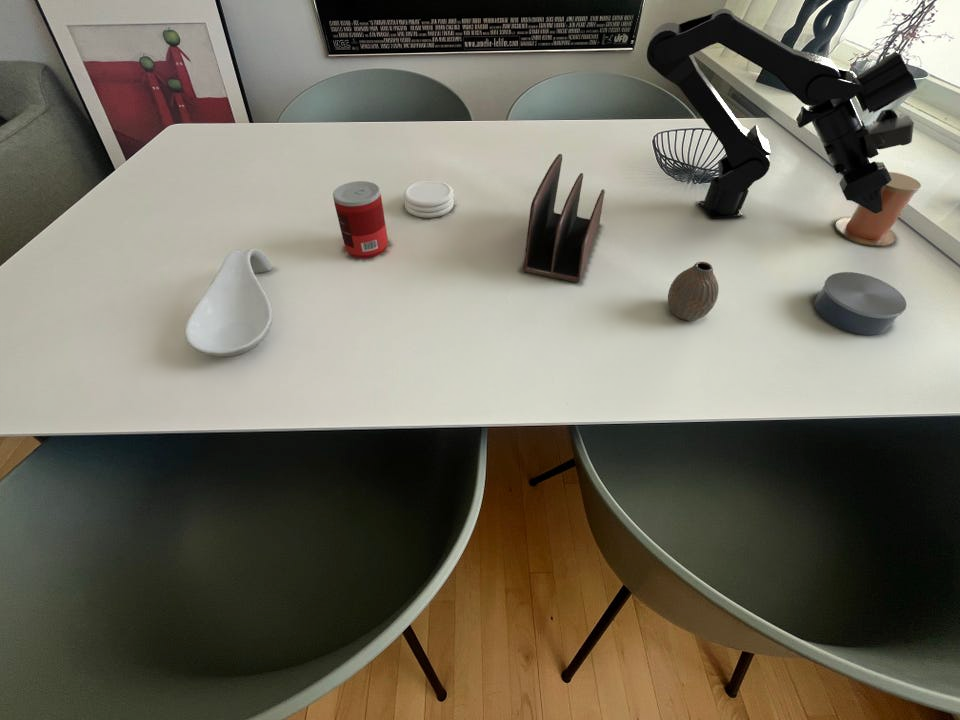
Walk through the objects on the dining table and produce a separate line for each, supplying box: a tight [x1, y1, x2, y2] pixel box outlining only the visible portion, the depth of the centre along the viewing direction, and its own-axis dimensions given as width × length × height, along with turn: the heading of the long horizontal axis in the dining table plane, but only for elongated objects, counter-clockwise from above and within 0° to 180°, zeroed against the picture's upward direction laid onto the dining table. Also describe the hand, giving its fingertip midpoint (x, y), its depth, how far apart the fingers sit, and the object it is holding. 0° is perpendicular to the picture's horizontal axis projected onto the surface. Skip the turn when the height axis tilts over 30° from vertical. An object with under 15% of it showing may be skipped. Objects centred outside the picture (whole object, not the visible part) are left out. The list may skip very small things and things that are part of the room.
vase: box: [667, 261, 720, 321], centre depth 73 cm, size 7×7×9 cm
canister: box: [846, 171, 922, 240], centre depth 89 cm, size 7×7×10 cm
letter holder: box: [522, 153, 606, 283], centre depth 83 cm, size 10×20×14 cm, turn 160°
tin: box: [813, 271, 907, 336], centre depth 74 cm, size 11×11×4 cm
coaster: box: [403, 179, 455, 219], centre depth 98 cm, size 10×10×4 cm
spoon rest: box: [184, 248, 273, 357], centre depth 73 cm, size 24×12×7 cm, turn 9°
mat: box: [834, 216, 896, 248], centre depth 92 cm, size 10×10×1 cm
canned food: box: [332, 180, 389, 260], centre depth 84 cm, size 8×8×11 cm
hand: (872, 200), depth 88 cm, fingers open, 9 cm apart
